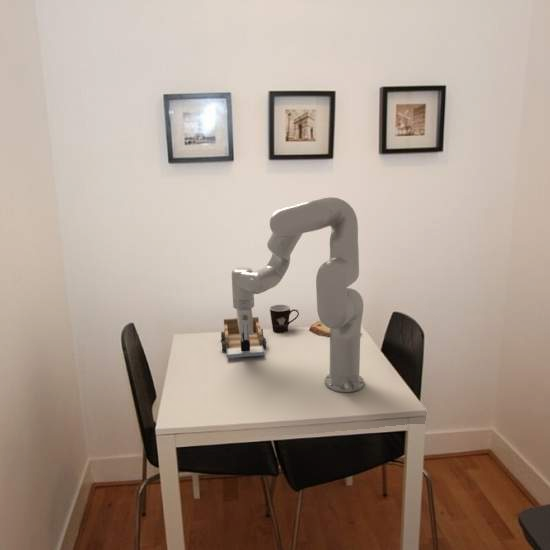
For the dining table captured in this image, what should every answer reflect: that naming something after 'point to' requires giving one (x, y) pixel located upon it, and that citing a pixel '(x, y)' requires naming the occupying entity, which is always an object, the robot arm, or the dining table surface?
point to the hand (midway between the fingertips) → (245, 350)
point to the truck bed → (233, 337)
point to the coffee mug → (281, 318)
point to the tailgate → (245, 352)
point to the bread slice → (320, 329)
